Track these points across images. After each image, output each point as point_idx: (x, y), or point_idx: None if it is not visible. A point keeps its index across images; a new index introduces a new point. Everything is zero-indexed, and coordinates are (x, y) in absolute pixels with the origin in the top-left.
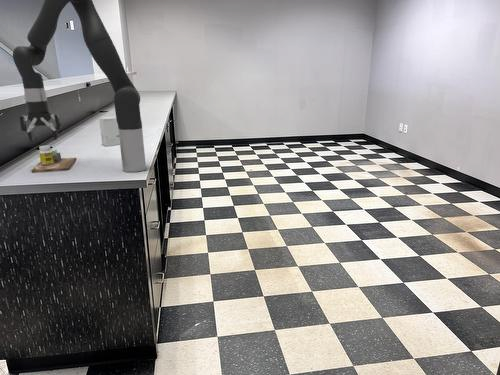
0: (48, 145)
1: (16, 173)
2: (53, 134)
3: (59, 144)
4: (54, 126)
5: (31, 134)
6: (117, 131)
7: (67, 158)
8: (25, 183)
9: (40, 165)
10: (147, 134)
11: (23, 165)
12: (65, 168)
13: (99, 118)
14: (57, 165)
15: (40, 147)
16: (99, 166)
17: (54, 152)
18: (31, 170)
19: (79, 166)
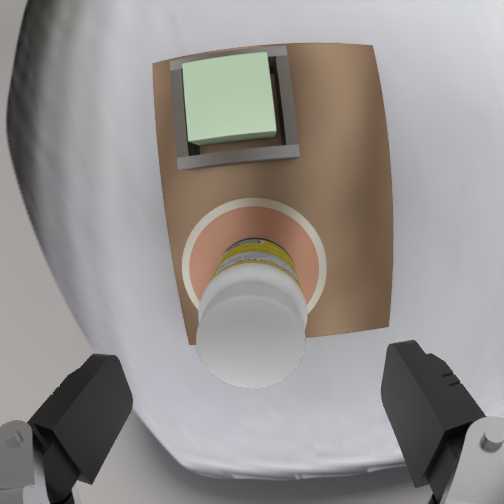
0: (280, 310)
1: (123, 331)
2: (407, 447)
3: None
4: (497, 488)
5: (101, 463)
6: None
7: (321, 55)
8: (240, 462)
9: (200, 250)
10: None
11: (79, 158)
12: (370, 329)
13: None
14: (316, 271)
15: (222, 378)
16: (499, 261)
17: (272, 133)
18: (190, 344)
19: (425, 241)
